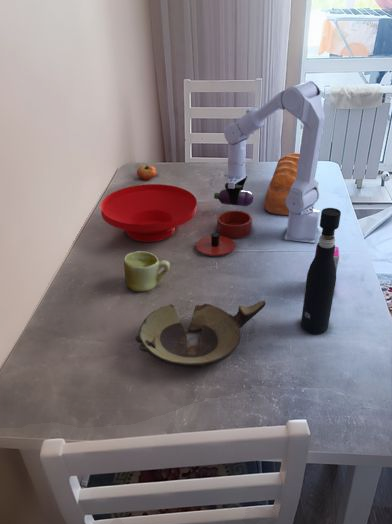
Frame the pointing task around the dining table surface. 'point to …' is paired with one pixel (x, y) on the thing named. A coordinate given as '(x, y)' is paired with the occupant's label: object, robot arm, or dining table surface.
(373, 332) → the dining table surface
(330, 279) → the black bottle
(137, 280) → the mug
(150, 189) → the bowl
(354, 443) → the dining table surface
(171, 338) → the olive round shallow dish
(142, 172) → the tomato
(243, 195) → the eggplant
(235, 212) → the pot
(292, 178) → the bread
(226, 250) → the pot lid
